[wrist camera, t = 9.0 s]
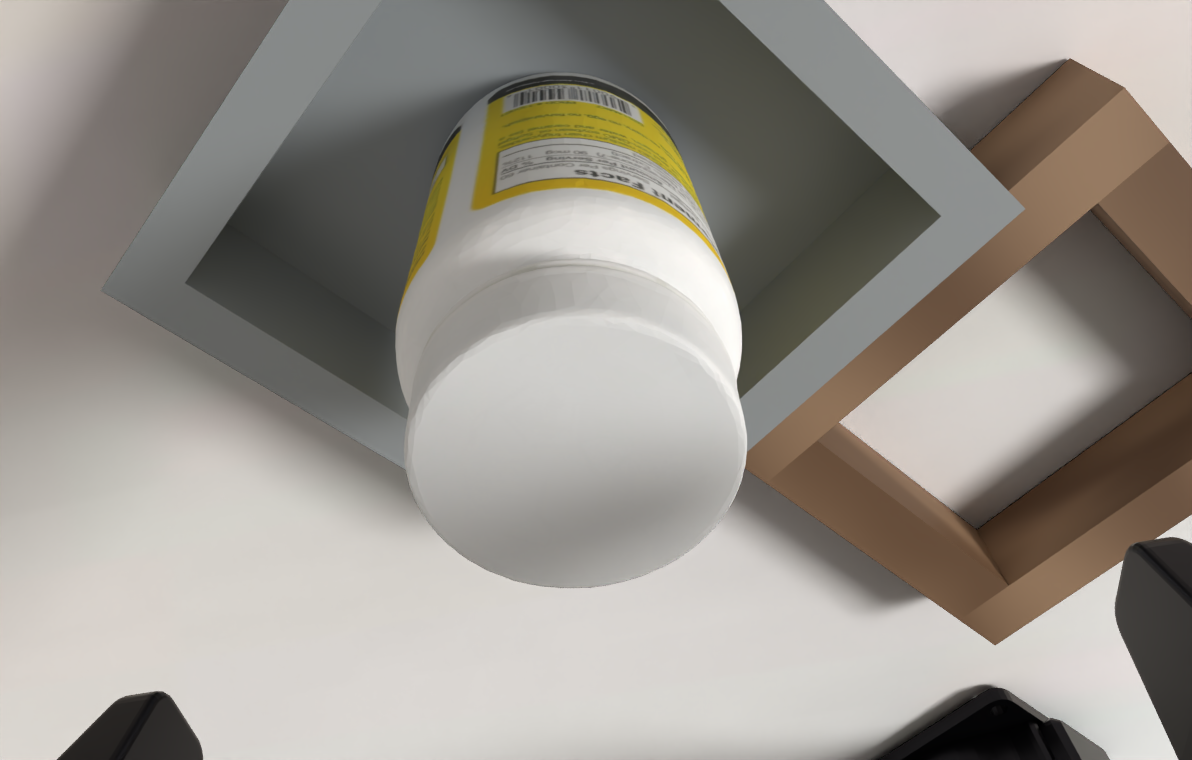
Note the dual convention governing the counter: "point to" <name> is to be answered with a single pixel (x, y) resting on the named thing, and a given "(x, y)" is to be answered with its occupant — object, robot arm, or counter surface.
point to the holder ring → (1052, 204)
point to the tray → (499, 56)
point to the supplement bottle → (569, 342)
